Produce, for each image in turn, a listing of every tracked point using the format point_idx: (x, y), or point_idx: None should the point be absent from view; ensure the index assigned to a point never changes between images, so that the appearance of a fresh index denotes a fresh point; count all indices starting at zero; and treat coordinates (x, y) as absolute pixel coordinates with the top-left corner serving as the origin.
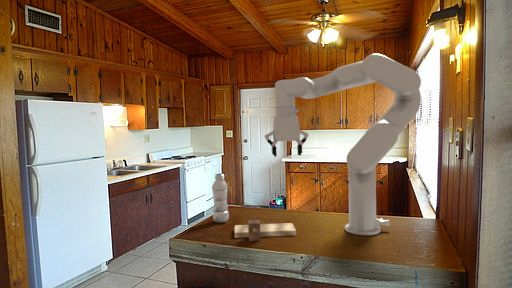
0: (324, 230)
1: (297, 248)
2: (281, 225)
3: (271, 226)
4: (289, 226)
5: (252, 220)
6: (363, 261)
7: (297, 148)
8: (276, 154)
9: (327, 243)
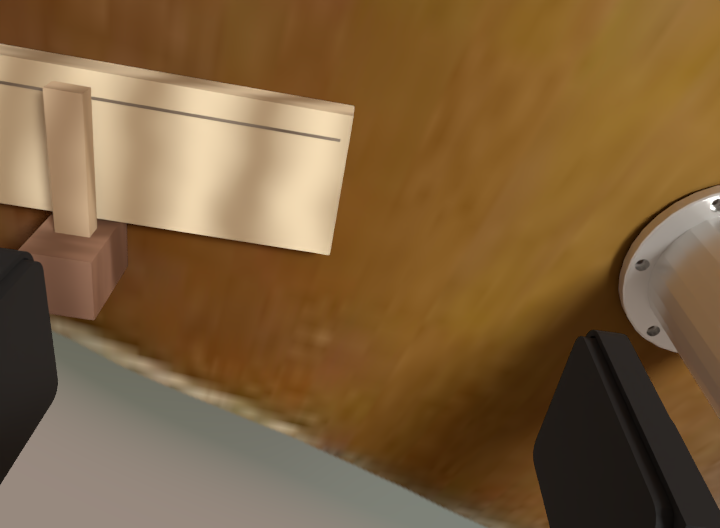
0: (520, 210)
1: (283, 381)
2: (267, 145)
3: (198, 147)
4: (313, 179)
5: (44, 259)
6: (462, 514)
7: (626, 442)
8: (40, 419)
9: (432, 368)
